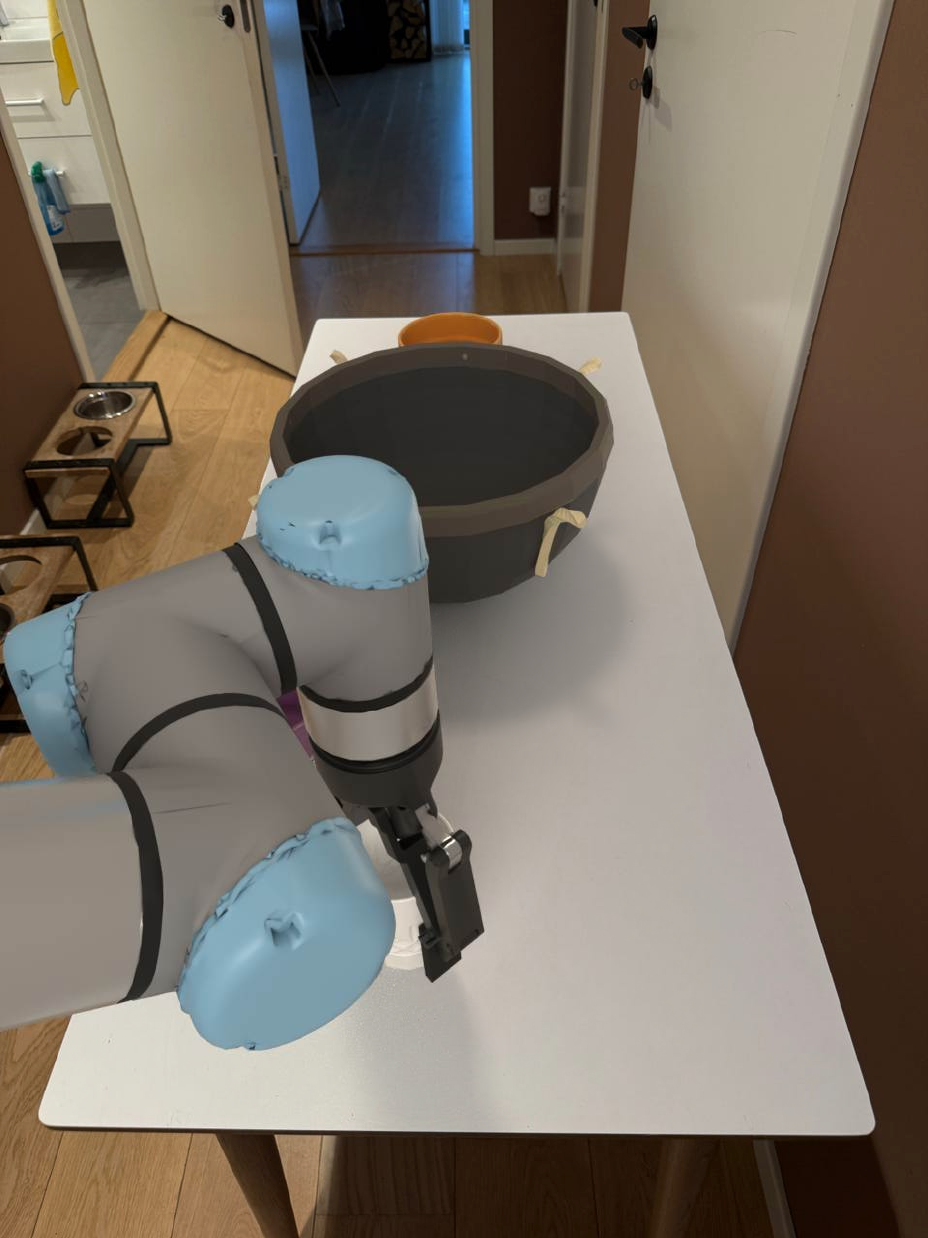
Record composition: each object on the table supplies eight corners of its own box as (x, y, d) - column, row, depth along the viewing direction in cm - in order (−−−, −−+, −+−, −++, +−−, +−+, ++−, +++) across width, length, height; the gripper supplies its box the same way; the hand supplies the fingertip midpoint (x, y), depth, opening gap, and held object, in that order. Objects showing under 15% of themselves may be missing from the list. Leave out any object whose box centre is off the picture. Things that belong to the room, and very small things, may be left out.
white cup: (463, 977, 65) (457, 899, 58) (351, 981, 65) (331, 904, 58) (461, 878, 70) (455, 798, 64) (358, 882, 71) (342, 802, 64)
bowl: (341, 477, 123) (319, 334, 110) (609, 490, 118) (620, 342, 105) (257, 662, 97) (215, 505, 84) (597, 689, 92) (609, 526, 79)
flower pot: (397, 443, 129) (388, 356, 120) (414, 394, 139) (407, 310, 131) (498, 446, 127) (496, 358, 119) (507, 396, 138) (506, 312, 129)
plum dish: (266, 789, 85) (256, 753, 81) (218, 733, 90) (206, 698, 86) (347, 738, 89) (340, 702, 85) (296, 688, 94) (288, 653, 91)
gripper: (547, 786, 48) (542, 995, 63) (327, 600, 60) (367, 813, 75) (435, 871, 44) (458, 1070, 60) (225, 654, 56) (289, 866, 72)
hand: (407, 927), depth 67 cm, fingers closed on white cup, 8 cm apart
